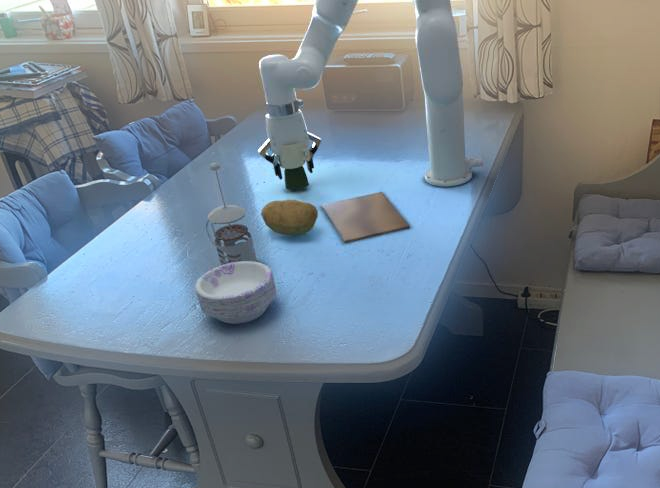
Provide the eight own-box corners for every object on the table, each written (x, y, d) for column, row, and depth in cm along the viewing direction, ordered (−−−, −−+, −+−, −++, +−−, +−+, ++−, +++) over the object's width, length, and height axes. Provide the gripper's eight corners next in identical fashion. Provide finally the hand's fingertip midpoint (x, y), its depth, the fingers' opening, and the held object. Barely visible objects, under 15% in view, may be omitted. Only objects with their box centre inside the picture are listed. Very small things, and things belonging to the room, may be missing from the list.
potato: (276, 221, 187) (270, 191, 182) (327, 227, 183) (322, 196, 178) (256, 239, 180) (249, 208, 175) (309, 245, 176) (303, 214, 171)
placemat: (381, 193, 196) (381, 191, 196) (409, 228, 179) (409, 225, 179) (322, 207, 192) (321, 204, 192) (345, 243, 175) (344, 240, 175)
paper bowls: (232, 287, 162) (223, 255, 158) (293, 298, 157) (286, 264, 152) (188, 326, 151) (178, 292, 147) (253, 338, 146) (244, 303, 141)
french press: (242, 286, 163) (213, 175, 148) (203, 274, 168) (172, 167, 153) (272, 265, 169) (248, 157, 154) (234, 255, 174) (207, 150, 160)
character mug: (321, 184, 204) (313, 136, 196) (309, 195, 199) (301, 147, 191) (286, 181, 207) (276, 134, 200) (273, 192, 202) (263, 144, 194)
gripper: (313, 97, 195) (323, 163, 206) (246, 110, 191) (260, 176, 202) (320, 105, 190) (330, 172, 200) (251, 118, 185) (265, 186, 196)
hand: (295, 174), depth 201 cm, fingers closed on character mug, 7 cm apart
